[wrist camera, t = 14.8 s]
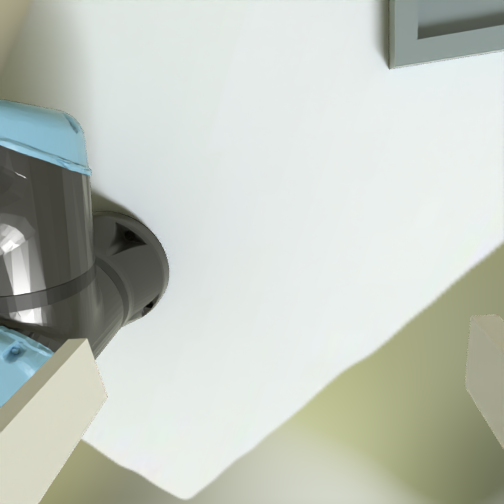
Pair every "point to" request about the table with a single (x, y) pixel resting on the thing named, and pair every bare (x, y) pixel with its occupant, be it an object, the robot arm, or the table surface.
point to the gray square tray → (443, 30)
